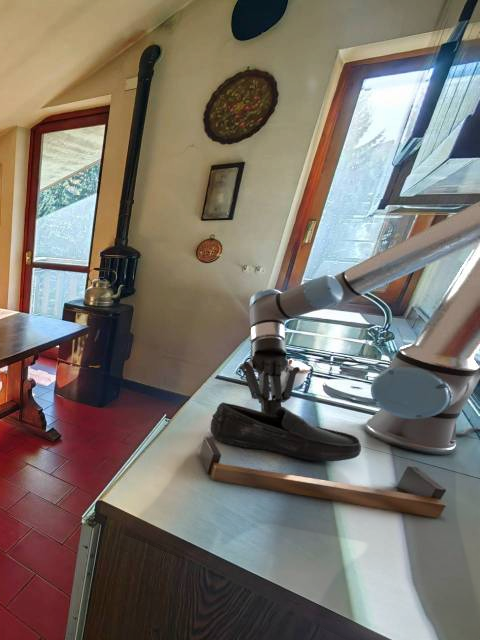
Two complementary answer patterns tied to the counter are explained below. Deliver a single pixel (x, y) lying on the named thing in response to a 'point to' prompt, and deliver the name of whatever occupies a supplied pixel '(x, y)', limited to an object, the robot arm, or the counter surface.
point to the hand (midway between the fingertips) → (272, 425)
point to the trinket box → (299, 376)
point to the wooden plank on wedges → (334, 486)
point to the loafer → (281, 434)
